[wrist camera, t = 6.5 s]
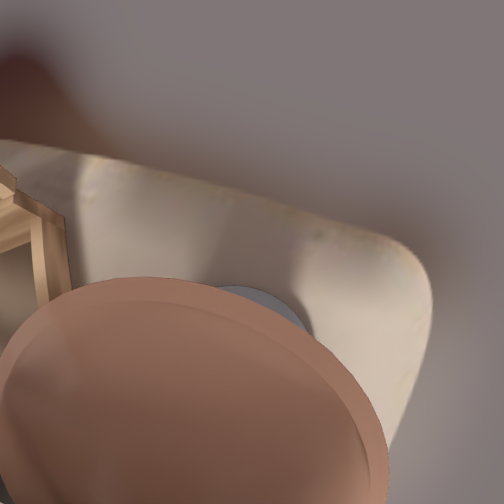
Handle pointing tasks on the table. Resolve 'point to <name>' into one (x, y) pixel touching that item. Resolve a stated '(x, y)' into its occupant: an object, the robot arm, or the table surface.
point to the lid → (6, 183)
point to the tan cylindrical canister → (181, 404)
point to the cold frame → (29, 261)
